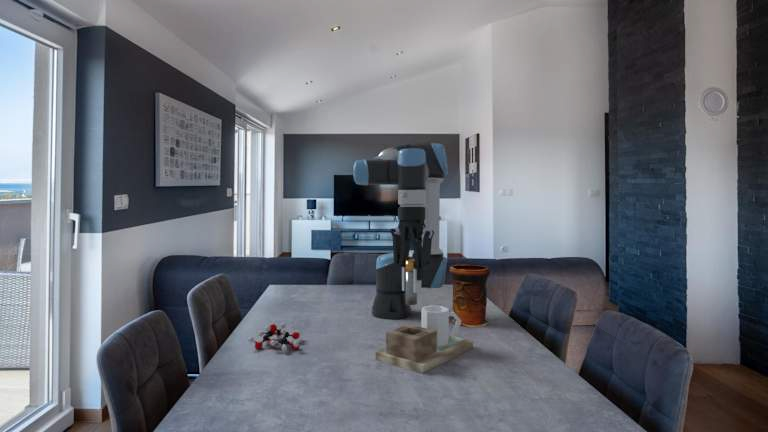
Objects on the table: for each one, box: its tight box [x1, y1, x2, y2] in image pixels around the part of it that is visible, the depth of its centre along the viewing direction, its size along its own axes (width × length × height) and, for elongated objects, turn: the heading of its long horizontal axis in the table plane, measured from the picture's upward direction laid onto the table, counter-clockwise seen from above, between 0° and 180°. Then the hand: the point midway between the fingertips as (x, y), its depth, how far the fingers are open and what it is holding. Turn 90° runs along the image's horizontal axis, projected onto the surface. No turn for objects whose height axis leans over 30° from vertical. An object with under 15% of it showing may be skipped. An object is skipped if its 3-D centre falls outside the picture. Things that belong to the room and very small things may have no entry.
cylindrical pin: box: [406, 260, 418, 306], centre depth 127 cm, size 3×3×12 cm
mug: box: [420, 305, 461, 346], centre depth 137 cm, size 12×9×10 cm
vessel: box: [449, 264, 491, 328], centre depth 166 cm, size 14×14×20 cm
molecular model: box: [247, 322, 301, 352], centre depth 140 cm, size 10×12×15 cm
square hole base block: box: [375, 324, 474, 374], centre depth 134 cm, size 16×26×8 cm, turn 140°
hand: (411, 290), depth 127 cm, fingers closed on cylindrical pin, 3 cm apart
